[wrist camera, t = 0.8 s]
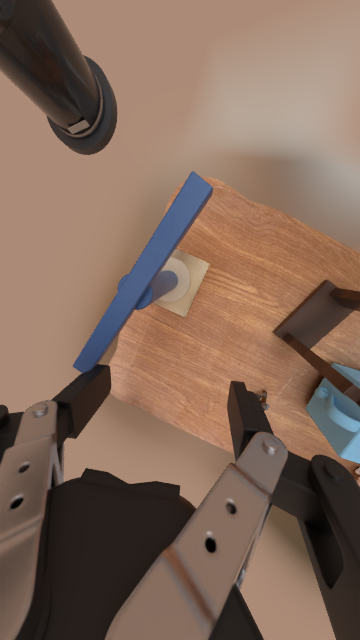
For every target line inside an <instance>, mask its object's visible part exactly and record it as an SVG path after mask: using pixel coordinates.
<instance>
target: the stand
mask: <svg viewBox="0 0 360 640" xmlns="http://www.w3.org/2000/svg"><path fill="white" fill-rule="evenodd" d="M354 310H356V311H359V312H360V292H359V291H353V290H346V289H340V288H338V287H336V286H335V285H334V284H333V283H332V282H330V281H328V280H325V281H324V282H323V283H322V284H321V285H320V286H319V287H318V288H317V289H316V290H315V291H314V292H313V293H312V294H311V295H310V296H309V297H307V298H306V299H305V300H304V301H303V302H302V303H301V304H300V305H299V306H298V307H297V308H296V309H295V310H294V311H293V312H292V313H291V314H290V315H289V316H288V317H287V318H286V319H285V320H284V321H283V322H282V323H281V324H280V325H279V326H278V327H277V328H276V329H275V330H274V331H273V333H274V334H276V335H277V336H278V337H279V338H281V339H282V340H283V341H285V342H286V343H287V344H288V345H290V346H291V347H292V348H293V349H294V350H296V351H297V352H298V353H299V354H300V355H301V356H302V357H303V358H304V359H305V360H306V361H307V362H309V363H310V364H311V365H312V366H313V367H314V368H315V369H316V370H317V371H318V372H319V373H321V374H322V375H323V376H324V377H325V378H326V379H327V380H328V381H329V382H330V383H331V384H332V385H334V386H335V387H336V388H337V389H338V390H339V391H340V392H341V393H342V394H343V395H345V396H347V397H349V398H350V399H351V400H352V401H354V402H355V403H356V404H357V405H358V406H359V407H360V388H358V387H357V386H356V385H354V384H353V383H352V382H351V381H349V380H348V379H347V378H346V377H344V376H343V375H342V374H340V373H339V372H338V371H337V370H335V369H334V368H333V367H332V366H330V365H329V364H328V363H326V362H325V361H324V360H323V359H321V358H320V357H319V356H318V355H316V354H315V353H314V352H312V351H311V350H310V349H311V348H312V347H313V346H314V345H315V344H316V343H317V342H319V341H320V340H321V339H322V338H323V337H324V336H325V335H327V334H328V333H329V332H330V331H331V330H332V329H333V328H335V327H336V326H337V325H338V324H339V323H340V322H341V321H342V320H344V319H345V318H346V317H347V316H348V315H349V314H350V313H352V312H353V311H354Z"/></svg>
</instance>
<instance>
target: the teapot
mask: <svg viewBox="0 0 360 640" xmlns="http://www.w3.org/2000/svg"><path fill="white" fill-rule="evenodd" d="M331 366H332V367H333V368H334V369H335V370H337V371H338V372H339V373H340V374H342V375H343V376H344V377H346V378H347V379H348V380H349V381H351V382H352V383H353V384H354V385H356V386H357V387H358V388H360V371H359V370H355V369H352V368H349V367H345V366H342V365H339V364H335V363H333V364H332V365H331ZM305 409H306V411H307V412H308V413H309V415H310V416H311V418H312V419H313V420H314V422H315V423H316V425H317V426H318V428H319V429H320V430H321V432H322V433H323V435H324V436H325V437H326V439H327V440H328V442H329V443H330V444H331V446H332V447H333V449H334V450H335V452H336V453H337V454H338V456H340V457H342V458H344V459H347V460H350V461H353V462H356V463H359V464H360V407H359V406H358V405H357V404H356V403H355V402H354V401H352V400H351V399H350V398H349V397H347V396H345V395H343V394H342V393H341V392H340V391H339V390H338V389H337V388H336V387H335V386H334V385H332V384H331V383H330V382H329V381H328V380H327V379H326V378H325V377H324V379H323V380H322V382H321V383H320V385H319V387H318V388H317V389H316V390H315V393H314V395H313V396H312V398H311V400H310V401H309V403H308V405H307V406H306V408H305Z"/></svg>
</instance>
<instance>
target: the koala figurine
mask: <svg viewBox="0 0 360 640" xmlns="http://www.w3.org/2000/svg"><path fill="white" fill-rule="evenodd" d="M355 472H356V474H358V475H360V467H359V468H358V469H356V470H355ZM357 484H358V485H359V487H360V477H359V478H358V480H357Z"/></svg>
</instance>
